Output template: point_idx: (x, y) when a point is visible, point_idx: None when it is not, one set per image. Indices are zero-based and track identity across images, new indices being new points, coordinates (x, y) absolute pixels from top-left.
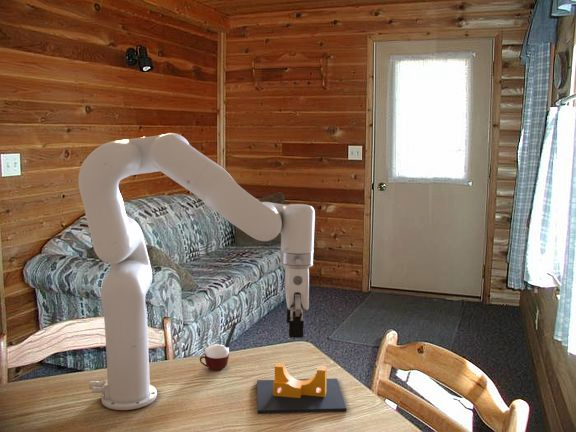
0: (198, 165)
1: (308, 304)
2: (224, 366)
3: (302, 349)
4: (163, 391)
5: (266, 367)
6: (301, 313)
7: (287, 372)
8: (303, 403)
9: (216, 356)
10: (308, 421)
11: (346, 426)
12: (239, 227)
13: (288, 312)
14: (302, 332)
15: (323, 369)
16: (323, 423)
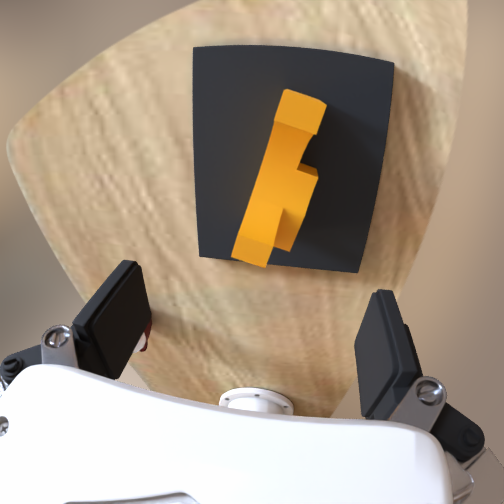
0: None
1: (447, 480)
2: None
3: (30, 140)
4: (236, 379)
5: (118, 223)
6: (477, 444)
7: (249, 214)
8: (349, 166)
9: (143, 338)
10: (419, 170)
11: (456, 93)
12: None
13: (126, 356)
14: (396, 311)
15: (312, 108)
16: (435, 139)
